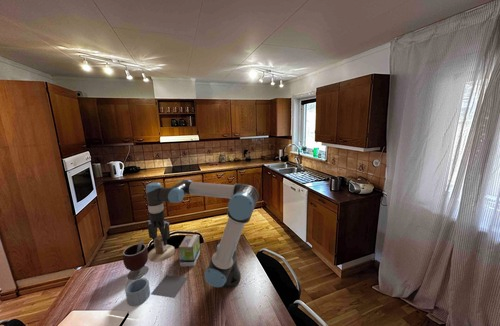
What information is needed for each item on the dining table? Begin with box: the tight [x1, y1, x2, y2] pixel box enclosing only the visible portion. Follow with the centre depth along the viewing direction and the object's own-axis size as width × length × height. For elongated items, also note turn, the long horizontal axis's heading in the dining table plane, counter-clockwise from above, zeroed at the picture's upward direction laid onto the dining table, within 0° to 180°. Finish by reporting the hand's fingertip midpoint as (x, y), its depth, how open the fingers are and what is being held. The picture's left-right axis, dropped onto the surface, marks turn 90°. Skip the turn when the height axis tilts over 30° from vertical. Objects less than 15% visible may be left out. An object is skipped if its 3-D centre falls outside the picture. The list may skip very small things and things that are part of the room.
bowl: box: [124, 277, 151, 307], centre depth 112 cm, size 11×11×8 cm
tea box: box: [178, 234, 201, 267], centre depth 142 cm, size 15×10×15 cm, turn 179°
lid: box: [148, 234, 176, 263], centre depth 114 cm, size 14×14×10 cm
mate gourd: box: [122, 237, 150, 281], centre depth 131 cm, size 16×14×20 cm
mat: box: [150, 274, 189, 299], centre depth 120 cm, size 15×15×1 cm
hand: (161, 249), depth 115 cm, fingers closed on lid, 4 cm apart
